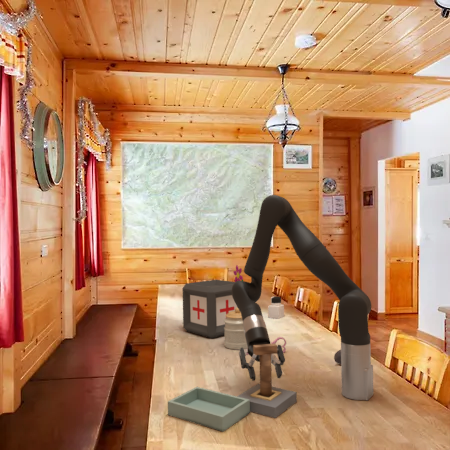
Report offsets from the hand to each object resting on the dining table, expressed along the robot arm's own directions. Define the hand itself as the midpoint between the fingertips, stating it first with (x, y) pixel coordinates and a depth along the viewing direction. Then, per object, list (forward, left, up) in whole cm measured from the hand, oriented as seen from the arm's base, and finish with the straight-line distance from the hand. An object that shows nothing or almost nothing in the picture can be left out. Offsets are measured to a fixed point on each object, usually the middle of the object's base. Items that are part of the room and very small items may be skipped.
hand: (267, 378), depth 138 cm
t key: (+1, -1, -9) cm, 9 cm away
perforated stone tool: (-8, -53, -9) cm, 54 cm away
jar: (+44, -51, -9) cm, 68 cm away
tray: (+12, +14, -9) cm, 20 cm away
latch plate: (+1, -1, -9) cm, 9 cm away
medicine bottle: (+58, -113, -9) cm, 127 cm away
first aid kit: (+70, -68, -9) cm, 98 cm away
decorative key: (+28, -47, -9) cm, 55 cm away
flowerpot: (+80, -113, -9) cm, 139 cm away
